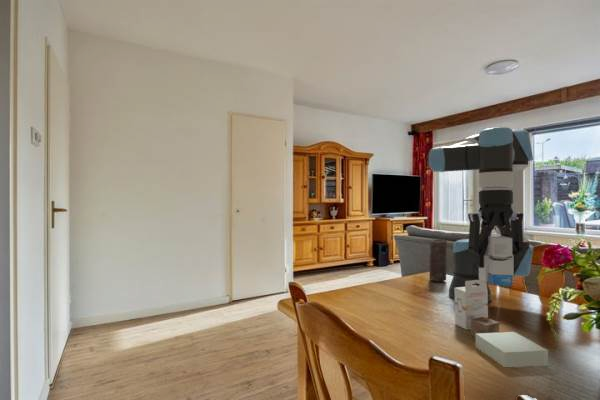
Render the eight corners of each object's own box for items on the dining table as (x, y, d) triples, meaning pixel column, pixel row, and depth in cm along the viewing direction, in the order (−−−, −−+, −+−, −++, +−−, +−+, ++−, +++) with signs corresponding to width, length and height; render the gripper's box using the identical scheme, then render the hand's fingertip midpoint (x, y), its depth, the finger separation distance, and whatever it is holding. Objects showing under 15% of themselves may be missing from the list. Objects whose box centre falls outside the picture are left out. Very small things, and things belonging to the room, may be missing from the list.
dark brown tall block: (450, 282, 156) (449, 239, 156) (439, 284, 152) (439, 240, 152) (436, 278, 162) (435, 238, 162) (426, 280, 159) (425, 239, 158)
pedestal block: (514, 346, 89) (514, 331, 89) (548, 367, 78) (548, 350, 78) (475, 348, 88) (475, 333, 88) (504, 369, 77) (504, 352, 77)
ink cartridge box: (475, 321, 107) (475, 275, 107) (488, 326, 102) (488, 279, 102) (453, 324, 104) (453, 277, 104) (465, 330, 100) (465, 281, 99)
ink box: (513, 286, 80) (513, 237, 80) (491, 285, 81) (490, 237, 81) (500, 277, 88) (500, 233, 88) (480, 277, 89) (479, 233, 89)
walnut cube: (483, 333, 97) (483, 316, 97) (499, 340, 93) (499, 322, 93) (470, 336, 95) (470, 319, 95) (486, 343, 91) (486, 325, 91)
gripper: (519, 189, 89) (519, 275, 89) (451, 190, 87) (452, 277, 87) (542, 188, 82) (542, 282, 82) (469, 189, 80) (469, 284, 80)
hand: (496, 279), depth 85 cm, fingers closed on ink box, 6 cm apart
